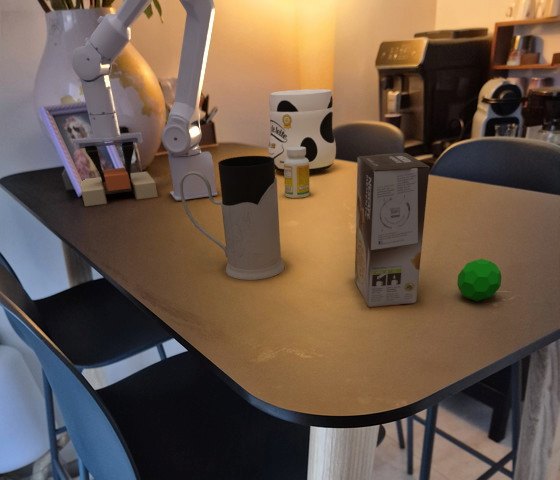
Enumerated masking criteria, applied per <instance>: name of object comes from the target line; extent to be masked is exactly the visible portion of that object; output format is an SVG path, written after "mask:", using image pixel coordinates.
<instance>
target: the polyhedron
mask: <svg viewBox="0 0 560 480" xmlns="http://www.w3.org/2000/svg"><path fill="white" fill-rule="evenodd" d="M456 282H457V283H456V284H457V287H458V290H459V292H460V293H461V295H462V296H463V297H465V298H466V299H469V300H470V301H474V302H480V301H483V300H486V299H489V298H493V296H494V295H495V294H496V293H497V292H498V290H499V289H500V288H501V285H502V272H501V270H500V268H499V266H497V264H496V263H494V262H492V261H491V260H488V259H484V258H479V259H475V260H472V261H469V262H467V263H466V264H465V265H464V267H463V268H462V270H460V272H459V273H458V275H457V281H456Z"/></svg>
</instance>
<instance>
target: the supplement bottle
mask: <svg viewBox="0 0 560 480" xmlns="http://www.w3.org/2000/svg"><path fill="white" fill-rule="evenodd" d="M305 155H306V148H305V147H300V146H297V147H289V148H287V156H288V158H287V159H286V160H285V161H284V172H283V180H284V196H285V197H287V198H289V199H301V198H306V197H308V196H309V195H310V173H309V160H308V159H307V158H305Z"/></svg>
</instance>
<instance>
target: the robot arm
mask: <svg viewBox="0 0 560 480" xmlns="http://www.w3.org/2000/svg"><path fill="white" fill-rule="evenodd" d="M153 1H154V0H123V2H122V3H121V5H120V6H119V8H118V10H116V13H106V14H105V15H104V16H102V15H100V16H99V17H98V18H97V20H96V22H97V24H98V25H97V26H96V28H95V29H94V31H93V32H92V34H91V35H90V37H86V38H85V39H84V41H83V43H84V45H83V46H82V45H81V46H77V47H76V48H74V51H73V53H72V55H71V67H72V69H73V72H74V73H75V74H76V75H77V76H78V77H79V79H80V84H81V88H82V92H83V98H84V101H85V107H86V111H87V115H88V118H89V124H90V127H91V131H92V136H85V137H77V138H72V144H73V148H74V150H80V149H81V150H82V149H85V153H86V154H87V156H88V157H89V159H90V160H91V162H92V163H93V165H94V166H95V169H96V170H97V172H98V174H99V177H101V179H102V183H103V182H105V177H104V174H103V171H102V170H103V168H102V162H101V159H100V158H101V157H100V153H99V150H98V147H108V146H119V145H120V146H121V147H120V148H121V152H122V156H123V161H124V168H125V170H126V171H127V173H128V177H129V179H131V173H132V172H131V171H132V160H133V155H134V152H135V145H134V144H137V143H138V144H141V143H143V136H142V132H140V131H138V132H123V133H121V130H120V125H119V121H118V117H117V110H116V105H115V101H114V100H115V99H114V96H113V90H112V86H111V81H110V75H111V73H112V68H113V66H112V65H113V64H114V62H115V61H116V60H117V58H118V57H119V56H120V55H121V53H122V52H123V50H124V49H125V48H126V47H127V45H128V44H129V42H130V41H131V39H132V33H131V30H132V29H131V28H132V27H133V25H134V24H135V23H136V22H137V21H138V19H139V18H140V17H141V16H142V15H143V13H144V12H145V11H146V9H147V8H149V6H150V4H151V3H152V2H153ZM179 2H180V4H181V5H182V7H183V9H184V10H185V13H186V16H185V24H184V31H183V36H182V37H183V38H182V44H181V50H180V51H181V52H180V59H179V66H178V72H177V79H176V85H175V91H174V92H175V93H174V101H173V103H172V106H171V109H170V111H169V113H168V119H167V123H166V124H165V126H163V129H162V131H161V142H162V145H163V148H164V149H165V150H166V151H167V157H168V158H167V159H168V164H169V170H170V171H169V172H170V175H171V183H172V191H169V195H171V197H172V198H173V199H174V201H176V202H179V201H180V202H181V201H182V199H181V194H180V182H181V179H182V177H183V176H184V175H185V174H187V173H189V172H199V173H201V174H203V175H204V176H205V177H206V178H207V179H208V181H209V183H210V186H211V191H212V197H215V196H218V195H219V194H218V191H217V190H218V189H217V183H216V182H217V181H216V174H215V173H216V172H215V165H214V160H213V156H212V154H211V152H210V151H202V149H201V147H200V146H199V144H200V142H201V139H202V130H201V125H200V121H201V112H200V102H201V96H202V91H203V90H202V89H203V83H204V77H205V72H206V65H207V59H208V56H209V55H208V54H209V49H210V42H211V37H212V36H211V35H212V31H213V23H214V17H215V12H216V6H215V3H214V0H179ZM183 192H184V197H185V201H186V200H193V199H194V200H195V199H200V198H209V194H208V189H207V186H206V183H205V182H204V180H203V179H202V178H201V177H199V176H198V175H189V176H187V177H186V178H185V179H184V182H183Z"/></svg>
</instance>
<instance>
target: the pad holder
mask: <svg viewBox="0 0 560 480" xmlns="http://www.w3.org/2000/svg"><path fill="white" fill-rule="evenodd" d="M84 179H85V180H83V181H81V182H80V181H79V186H80V192H81V196H82V200H83V203H84V207H86V208H87V207H91V206H100V205H108V200H107V195H112V194H120V193H121V194H122V193H127V192H132V195H133V196H134V198H135V200H136V201H137V200H145V199H152V198H158V191H157V185H156V182H155V180H154V179H153V177H152V176H151V175H150V174H149V172H148V171H139V172H131V179H129V182H130V187H131V189H123V190H115V191H108V190H107V187H106V184H105V182H103V183H102V179H101V177H100V176H97V177H89V178H84Z"/></svg>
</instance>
